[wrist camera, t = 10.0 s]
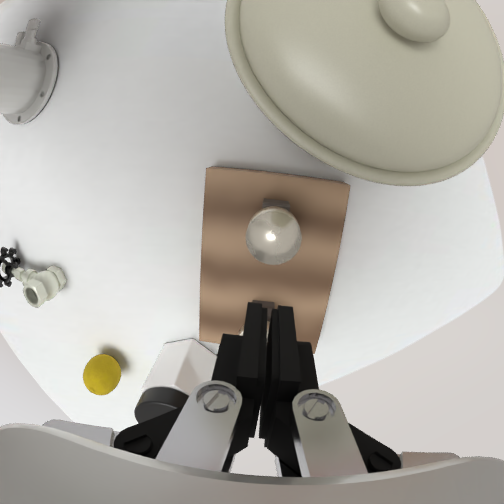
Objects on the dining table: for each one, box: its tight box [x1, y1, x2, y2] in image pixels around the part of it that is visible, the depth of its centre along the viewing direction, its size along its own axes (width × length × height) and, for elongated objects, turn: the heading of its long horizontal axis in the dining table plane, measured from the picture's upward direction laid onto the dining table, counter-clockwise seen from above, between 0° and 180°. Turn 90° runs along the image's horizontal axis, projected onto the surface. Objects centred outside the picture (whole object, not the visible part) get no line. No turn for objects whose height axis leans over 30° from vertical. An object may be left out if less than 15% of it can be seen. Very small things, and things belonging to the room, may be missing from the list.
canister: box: [225, 0, 504, 186], centre depth 17 cm, size 18×18×21 cm
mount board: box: [199, 166, 350, 354], centre depth 31 cm, size 20×14×6 cm
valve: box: [0, 247, 66, 308], centre depth 34 cm, size 7×7×12 cm
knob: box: [246, 206, 302, 265], centre depth 26 cm, size 4×4×6 cm
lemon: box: [83, 354, 121, 395], centre depth 37 cm, size 6×6×8 cm
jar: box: [134, 339, 217, 423], centre depth 34 cm, size 9×8×12 cm
